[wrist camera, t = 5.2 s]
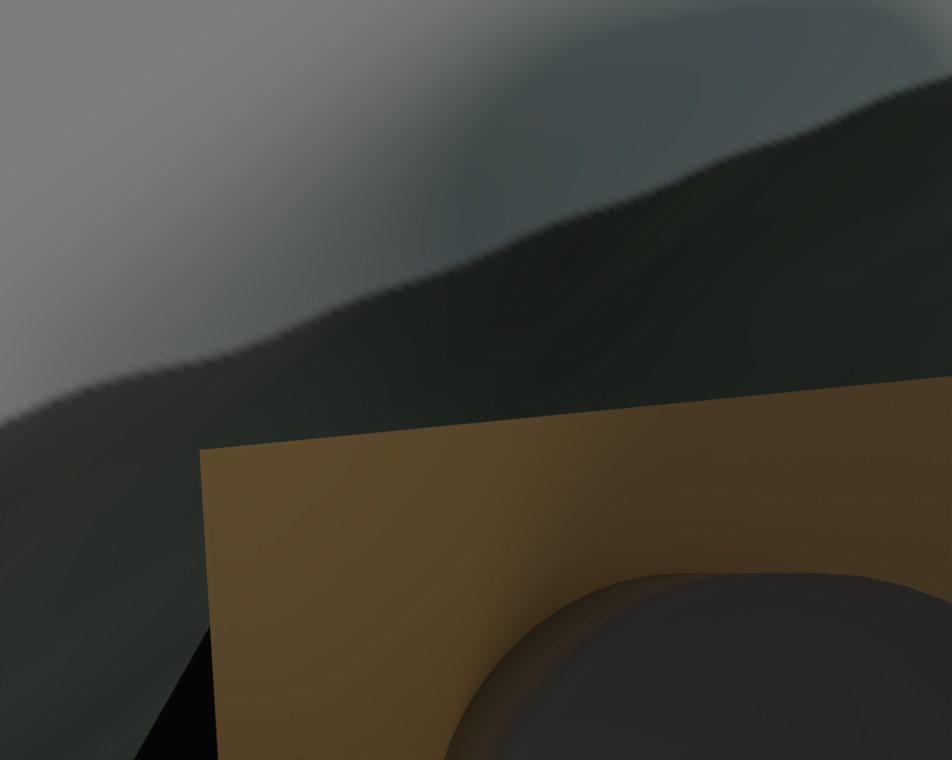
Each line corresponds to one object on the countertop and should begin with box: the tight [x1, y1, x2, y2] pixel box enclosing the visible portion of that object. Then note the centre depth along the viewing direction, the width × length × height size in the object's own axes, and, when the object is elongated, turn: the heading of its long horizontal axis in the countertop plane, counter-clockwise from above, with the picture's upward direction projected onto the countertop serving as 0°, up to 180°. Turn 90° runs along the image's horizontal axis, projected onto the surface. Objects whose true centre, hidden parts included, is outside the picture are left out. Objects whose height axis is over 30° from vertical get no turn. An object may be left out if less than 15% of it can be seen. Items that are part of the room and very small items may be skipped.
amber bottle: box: [200, 376, 952, 760], centre depth 9 cm, size 5×5×12 cm
